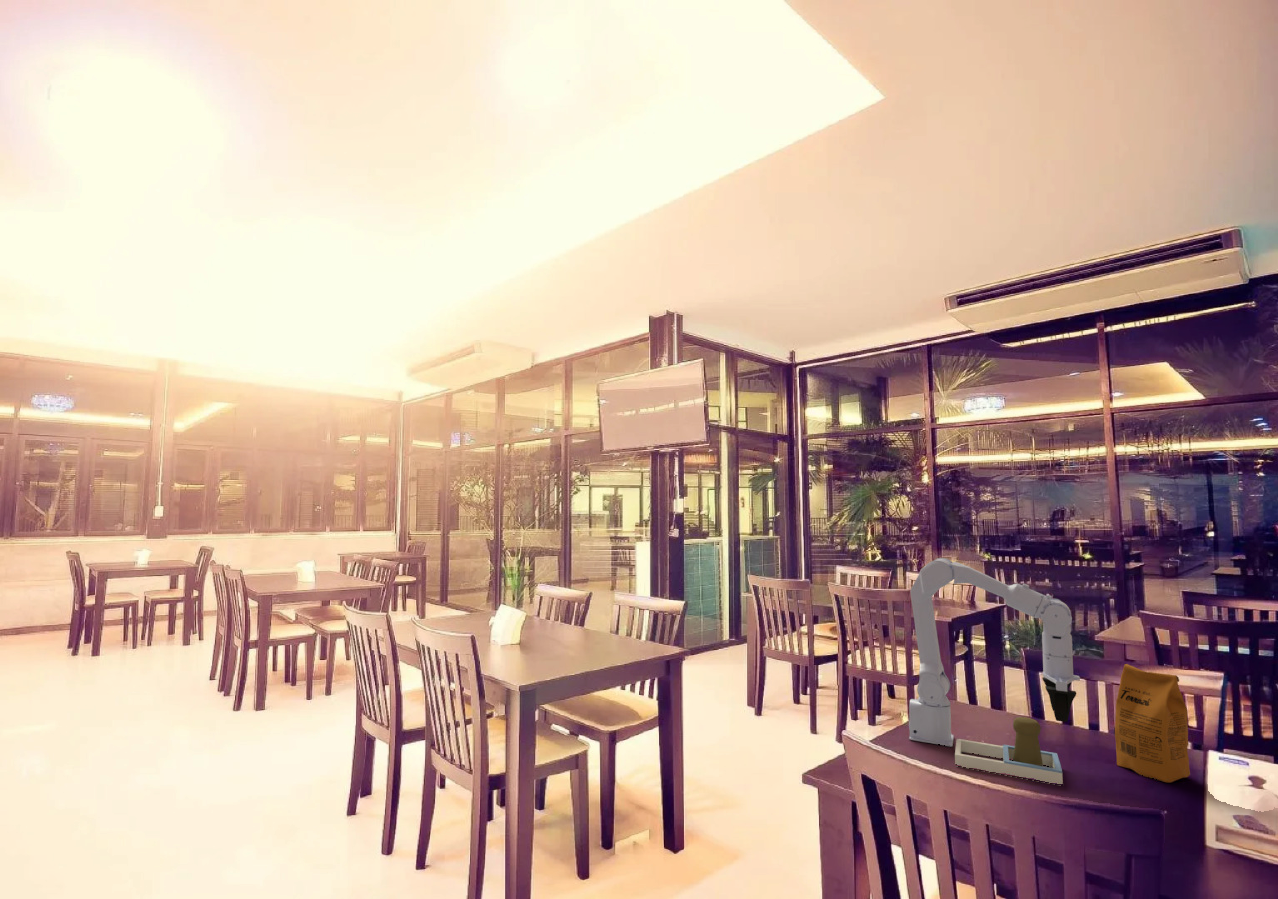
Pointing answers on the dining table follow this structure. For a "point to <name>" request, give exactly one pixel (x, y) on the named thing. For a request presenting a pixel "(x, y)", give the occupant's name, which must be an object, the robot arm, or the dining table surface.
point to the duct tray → (1007, 761)
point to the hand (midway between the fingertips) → (1059, 716)
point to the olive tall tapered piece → (1027, 741)
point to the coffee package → (1151, 725)
